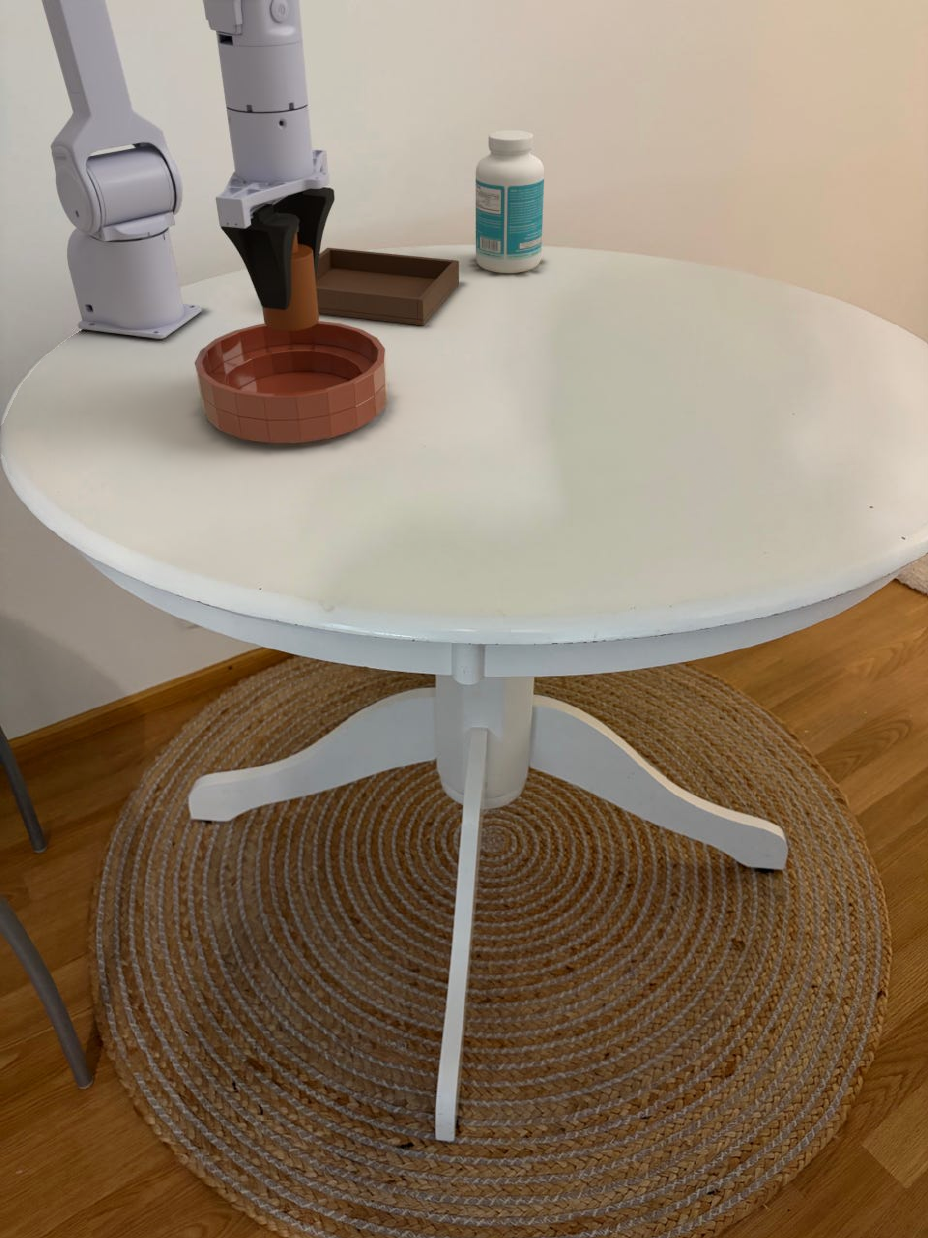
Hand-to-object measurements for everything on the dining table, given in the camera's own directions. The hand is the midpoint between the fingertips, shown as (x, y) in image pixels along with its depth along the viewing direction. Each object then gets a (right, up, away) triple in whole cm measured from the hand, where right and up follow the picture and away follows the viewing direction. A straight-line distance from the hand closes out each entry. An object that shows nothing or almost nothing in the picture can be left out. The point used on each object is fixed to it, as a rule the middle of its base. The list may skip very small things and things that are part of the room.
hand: (288, 296), depth 76 cm
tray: (+4, +8, +25) cm, 27 cm away
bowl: (0, -8, +5) cm, 9 cm away
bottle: (0, -2, +1) cm, 2 cm away
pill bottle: (+19, +15, +33) cm, 41 cm away
